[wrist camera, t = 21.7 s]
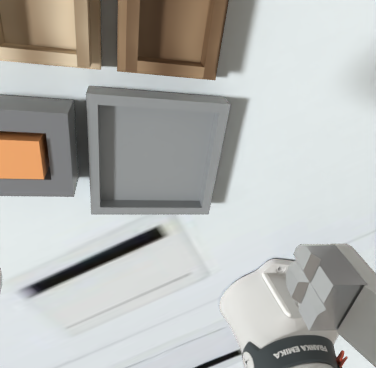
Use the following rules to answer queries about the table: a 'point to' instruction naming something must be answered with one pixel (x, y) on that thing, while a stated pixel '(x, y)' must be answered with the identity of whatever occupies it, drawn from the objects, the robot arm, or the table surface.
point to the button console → (56, 141)
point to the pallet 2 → (170, 37)
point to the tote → (153, 150)
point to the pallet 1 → (51, 32)
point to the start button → (23, 155)
